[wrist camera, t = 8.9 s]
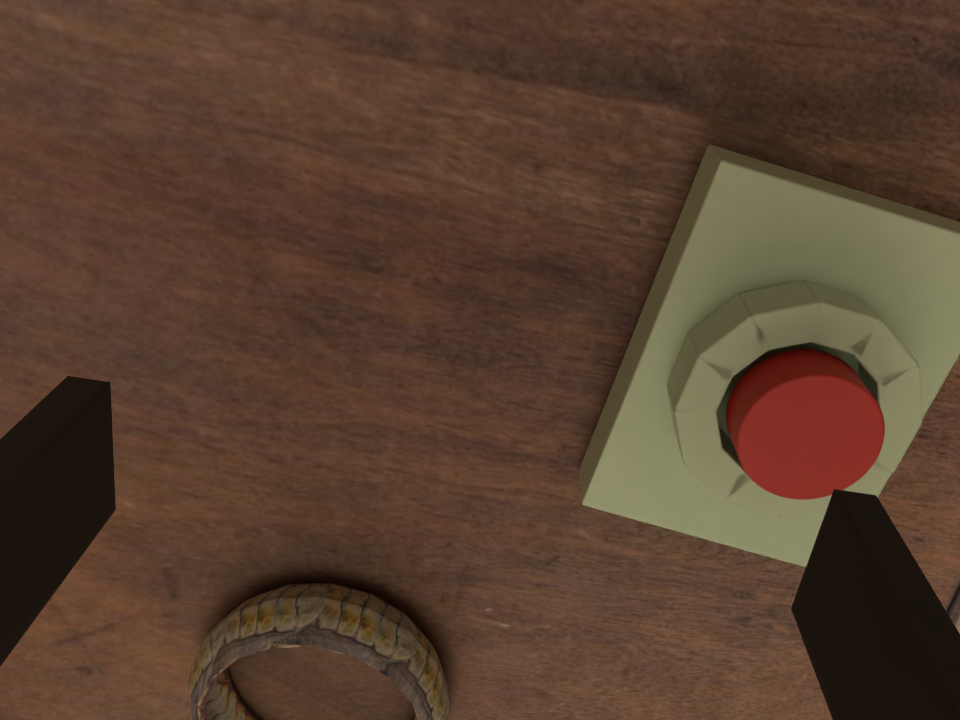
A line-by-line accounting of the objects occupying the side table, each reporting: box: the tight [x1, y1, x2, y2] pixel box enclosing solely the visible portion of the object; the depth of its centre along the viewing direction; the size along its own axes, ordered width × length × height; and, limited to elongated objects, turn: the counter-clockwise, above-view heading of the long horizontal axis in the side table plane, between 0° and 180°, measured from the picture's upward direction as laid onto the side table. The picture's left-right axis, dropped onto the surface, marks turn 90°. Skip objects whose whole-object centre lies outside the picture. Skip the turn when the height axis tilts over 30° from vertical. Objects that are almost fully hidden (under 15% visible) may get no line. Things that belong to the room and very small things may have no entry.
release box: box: [579, 145, 960, 567], centre depth 28 cm, size 12×9×4 cm
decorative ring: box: [189, 583, 450, 720], centre depth 35 cm, size 10×3×10 cm
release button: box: [726, 349, 885, 500], centre depth 26 cm, size 4×4×2 cm
